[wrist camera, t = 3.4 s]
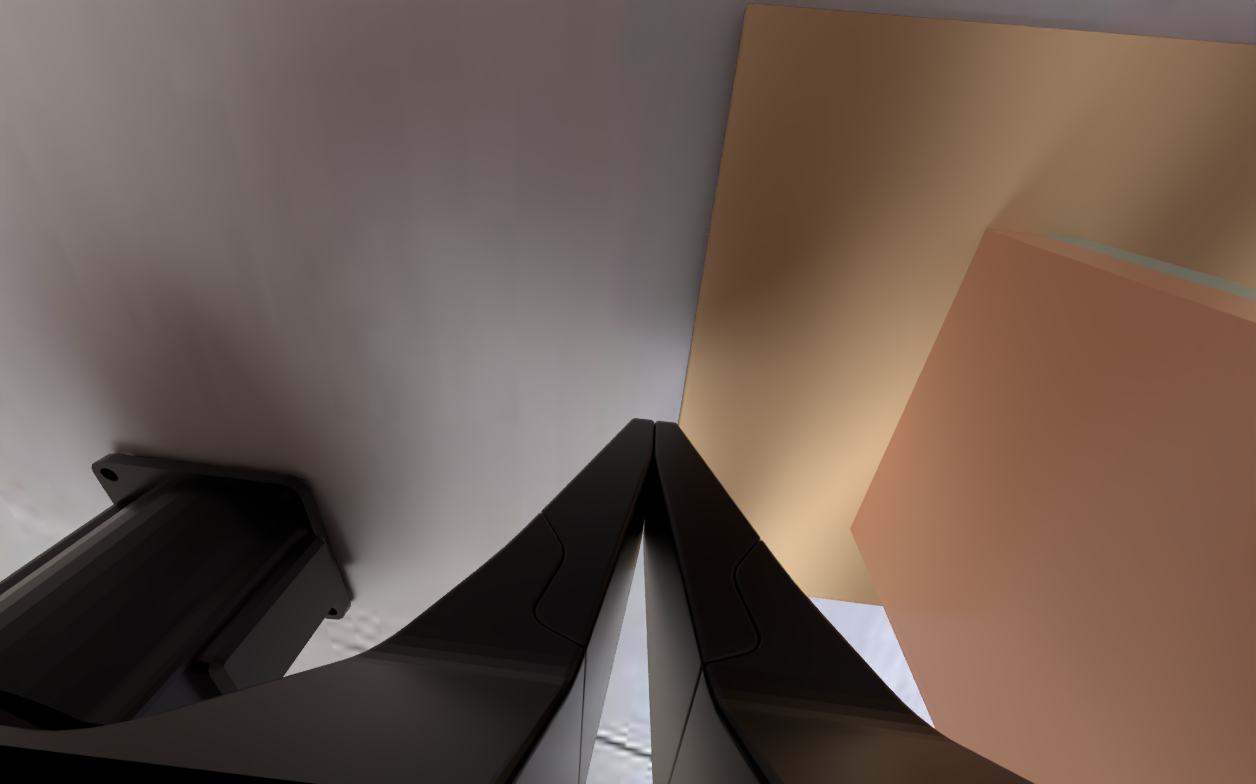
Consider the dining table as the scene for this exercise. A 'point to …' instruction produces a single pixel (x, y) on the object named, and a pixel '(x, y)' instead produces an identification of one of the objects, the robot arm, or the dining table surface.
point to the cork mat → (924, 226)
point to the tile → (1079, 517)
